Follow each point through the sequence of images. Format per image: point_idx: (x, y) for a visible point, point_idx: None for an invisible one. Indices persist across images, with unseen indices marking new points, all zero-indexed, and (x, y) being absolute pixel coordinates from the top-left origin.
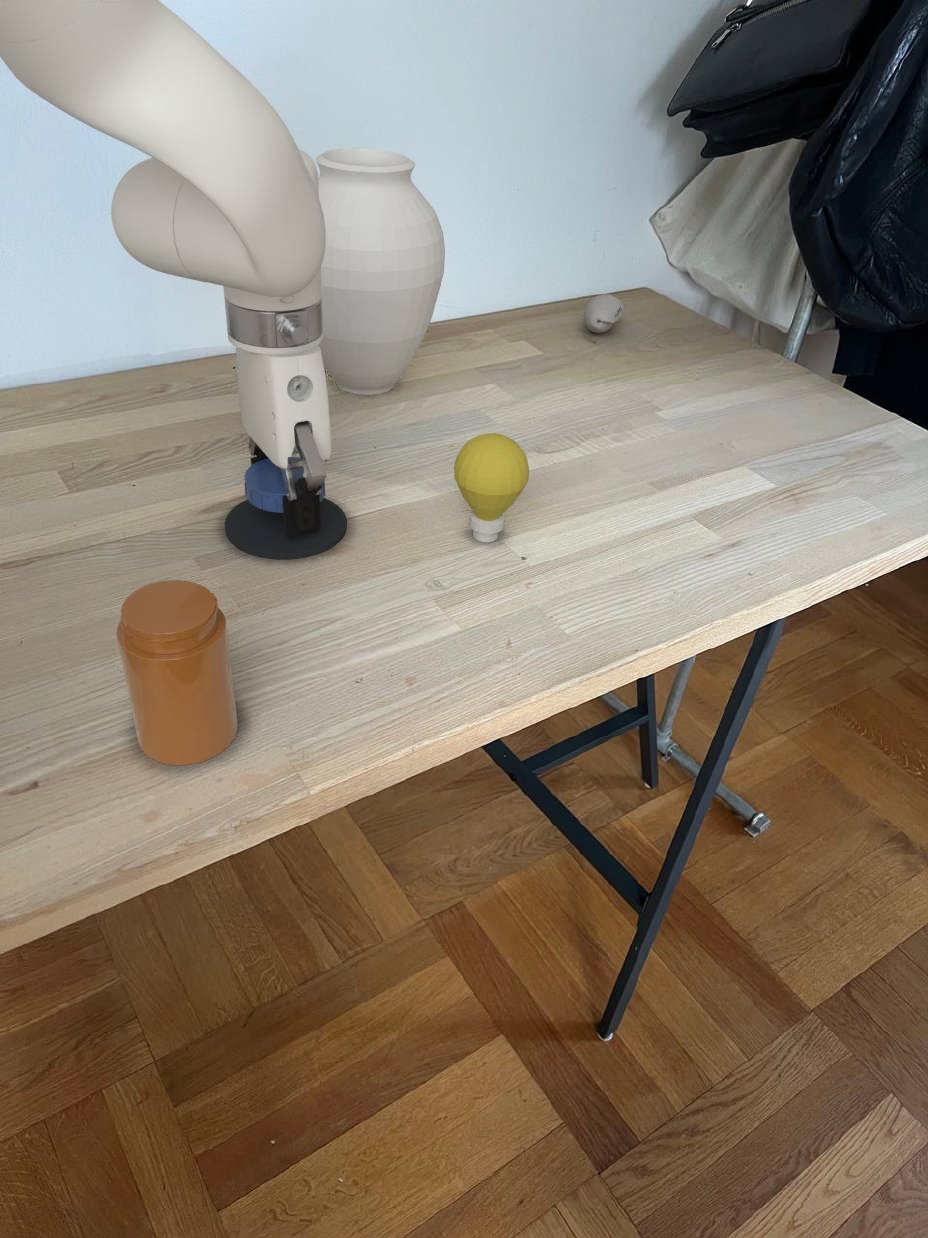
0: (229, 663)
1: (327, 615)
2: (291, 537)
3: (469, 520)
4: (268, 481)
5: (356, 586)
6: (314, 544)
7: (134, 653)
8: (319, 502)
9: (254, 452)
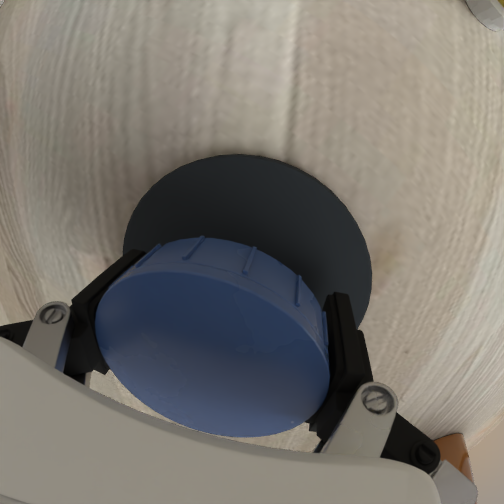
0: (472, 480)
1: (466, 354)
2: None
3: (488, 11)
4: (218, 415)
5: (469, 296)
6: (353, 301)
7: None
8: (358, 344)
9: (89, 377)
